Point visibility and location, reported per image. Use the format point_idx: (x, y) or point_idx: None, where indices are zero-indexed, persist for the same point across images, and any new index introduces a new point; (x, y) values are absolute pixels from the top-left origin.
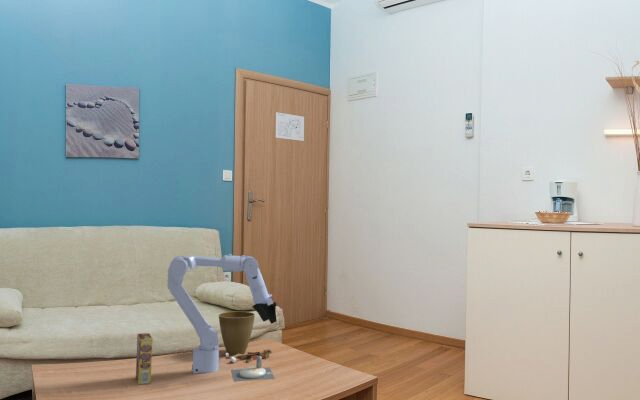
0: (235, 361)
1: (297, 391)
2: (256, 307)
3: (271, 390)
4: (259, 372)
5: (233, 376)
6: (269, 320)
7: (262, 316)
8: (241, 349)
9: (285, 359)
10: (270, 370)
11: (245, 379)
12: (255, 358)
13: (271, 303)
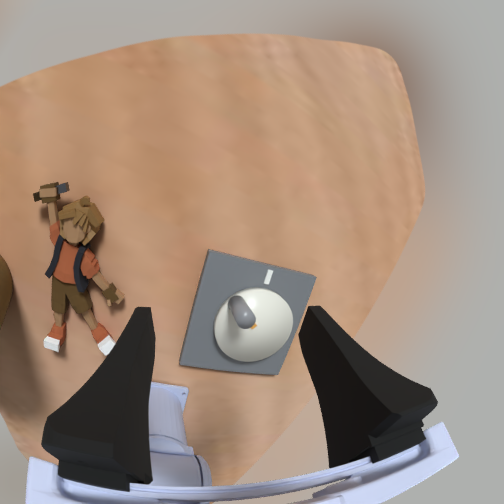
0: (109, 336)
1: (387, 252)
2: (148, 466)
3: (354, 303)
4: (280, 315)
5: (241, 370)
6: (308, 358)
7: (149, 371)
8: (7, 280)
9: (116, 140)
10: (242, 261)
11: (280, 349)
12: (95, 262)
13: (433, 432)
